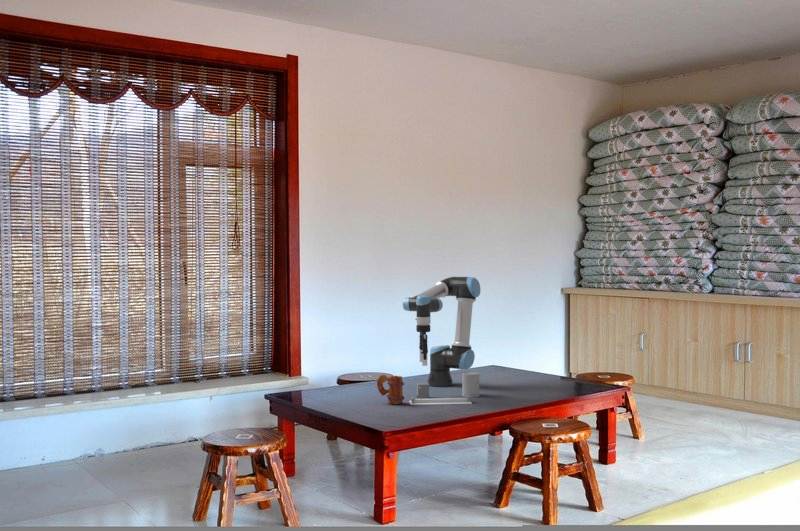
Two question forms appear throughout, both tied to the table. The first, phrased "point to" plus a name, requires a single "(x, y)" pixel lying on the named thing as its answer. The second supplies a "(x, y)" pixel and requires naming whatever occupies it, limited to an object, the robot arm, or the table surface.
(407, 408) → the table surface
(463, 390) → the light grey cylinder
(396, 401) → the mug
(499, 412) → the table surface
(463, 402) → the rail panel
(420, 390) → the block
